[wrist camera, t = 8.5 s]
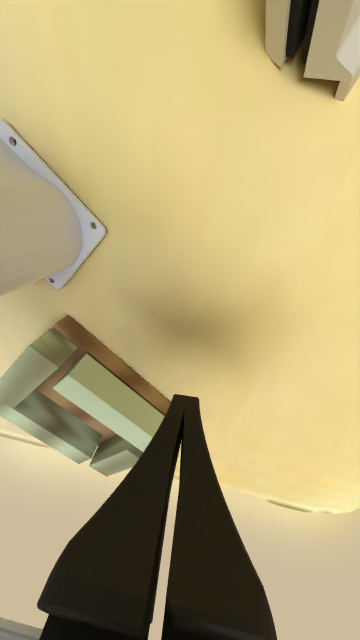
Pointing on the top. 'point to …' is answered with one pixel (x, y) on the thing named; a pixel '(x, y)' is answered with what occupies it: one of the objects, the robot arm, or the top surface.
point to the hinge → (317, 38)
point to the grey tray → (60, 413)
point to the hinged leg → (110, 401)
